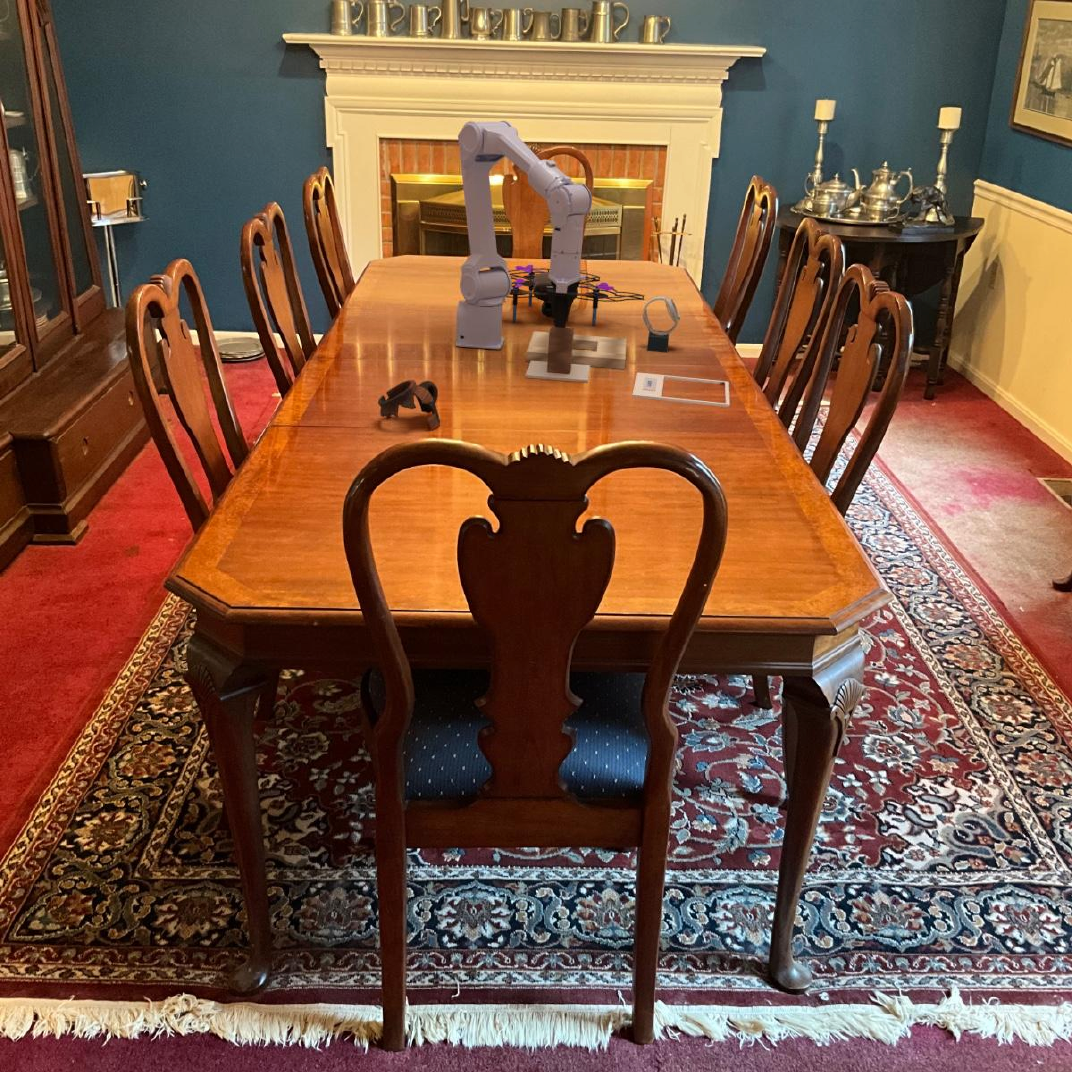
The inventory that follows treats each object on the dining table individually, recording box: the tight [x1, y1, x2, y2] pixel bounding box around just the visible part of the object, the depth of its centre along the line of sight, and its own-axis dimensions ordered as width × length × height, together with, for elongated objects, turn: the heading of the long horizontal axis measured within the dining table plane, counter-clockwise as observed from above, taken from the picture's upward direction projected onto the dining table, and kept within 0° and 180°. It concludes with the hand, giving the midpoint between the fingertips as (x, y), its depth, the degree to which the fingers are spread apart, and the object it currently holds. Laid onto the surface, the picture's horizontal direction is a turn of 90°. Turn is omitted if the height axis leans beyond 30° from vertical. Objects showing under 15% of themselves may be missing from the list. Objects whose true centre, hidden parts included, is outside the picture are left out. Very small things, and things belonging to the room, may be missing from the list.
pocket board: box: [525, 330, 627, 370], centre depth 222 cm, size 20×16×2 cm
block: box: [547, 325, 575, 374], centre depth 208 cm, size 4×4×8 cm
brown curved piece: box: [377, 379, 441, 431], centre depth 179 cm, size 12×10×8 cm
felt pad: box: [525, 361, 591, 383], centre depth 210 cm, size 12×10×1 cm
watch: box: [642, 295, 681, 353], centre depth 228 cm, size 6×8×11 cm
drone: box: [506, 264, 646, 327], centre depth 250 cm, size 40×10×28 cm
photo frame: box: [631, 372, 730, 408], centre depth 204 cm, size 15×1×18 cm
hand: (561, 322), depth 206 cm, fingers open, 7 cm apart
